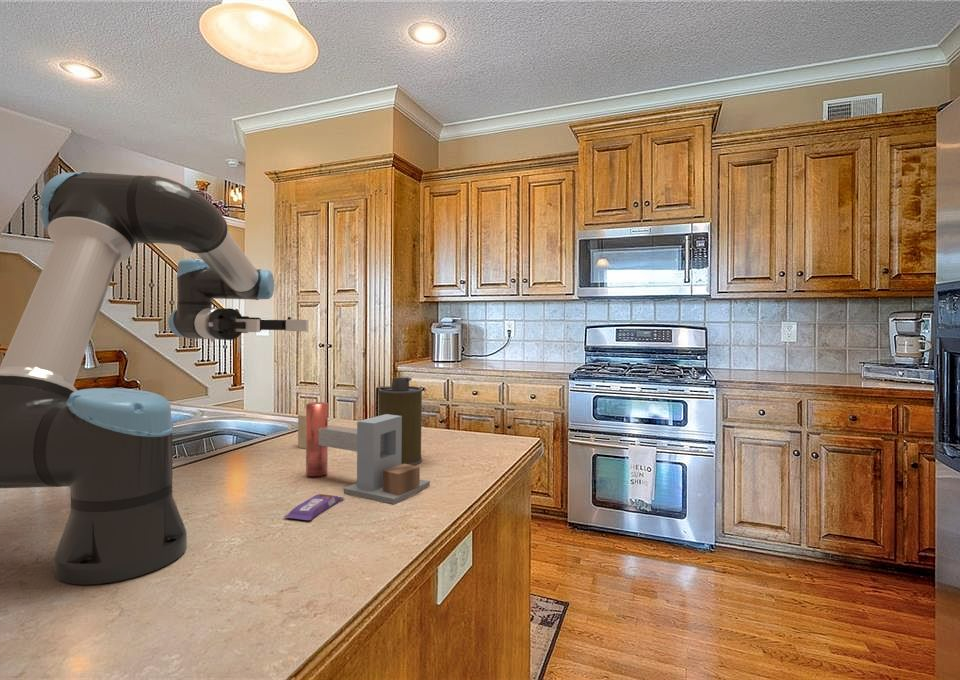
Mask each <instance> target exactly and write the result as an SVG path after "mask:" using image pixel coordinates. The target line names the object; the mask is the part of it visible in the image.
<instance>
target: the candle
mask: <svg viewBox="0 0 960 680" xmlns="http://www.w3.org/2000/svg"><path fill="white" fill-rule="evenodd" d="M297 416H298V417H297V446H298V448H299V449H305V450H306V407H305V408H302V410H301V411H299V413H298V415H297Z"/></svg>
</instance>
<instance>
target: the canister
mask: <svg viewBox="0 0 960 680" xmlns="http://www.w3.org/2000/svg"><path fill="white" fill-rule="evenodd" d="M411 381H413V379H412V377H409V376H408V377H406V376H404V377H403V376H396V377H394V378H392V381H391V385H389V386H384V385H383V386H377V387H376V388H375V417H377V416H381V415H385V414H389V415H398V416H402V450H401V464H409V465H413V466H418V465H419V464H420V463H422V461H423V459H422V408H423V407H422V402H423V401H422V399H423V398H422V397H423V395H422V394H423V387H420V386H413V385H410V382H411Z"/></svg>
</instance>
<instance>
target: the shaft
mask: <svg viewBox="0 0 960 680" xmlns="http://www.w3.org/2000/svg"><path fill="white" fill-rule="evenodd" d="M328 405H329V403H328V402H325V401H316V402H315V401H314V402H307V403H306V404H305V406H306V407H305V408H306V449H305V475H307V476H309V477H321V476H324V475H327V474H328V470H329V469H328V452H329V450H328V449H329V448H333V449H340V450H345V451H351V452H356V453H357V428H354V427H353V428H352V427H346V426H341V425H340V426H338V425H332V424H330V425H329V423H328V421H329V419H328V417H329V412H328V411H329V409H328V408H329V406H328ZM384 450H385V433H384V434H381V435H380V452H382V451H384Z"/></svg>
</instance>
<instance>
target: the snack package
mask: <svg viewBox="0 0 960 680" xmlns="http://www.w3.org/2000/svg"><path fill="white" fill-rule="evenodd" d="M344 499H345V497H344V496H342V497H341V496H338V495H329V494H322V493H319V494H316V495H313V496H312V497H310V498H309V499H307V500H305V501H304V502H302V503H300V504H297V505H296V506H295V507H293V508H292V509H291V510H290V512H289V513H287V514H286V515H284V516H283V518H285V519H295V520H303V521H312V520H314V519H315V518H316V517H318V516H319V515H321V514H323V513H324V512H325V511H328V510H329V509H330V508H332V507H333V506H335V505H336V504H338V503H340V502H341V501H342V500H344Z"/></svg>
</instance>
